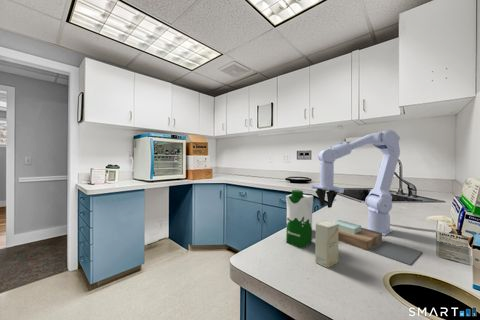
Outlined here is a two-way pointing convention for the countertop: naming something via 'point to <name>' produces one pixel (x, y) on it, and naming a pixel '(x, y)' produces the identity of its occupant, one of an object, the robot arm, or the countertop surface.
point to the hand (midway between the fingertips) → (326, 206)
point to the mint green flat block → (348, 226)
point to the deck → (360, 238)
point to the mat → (397, 252)
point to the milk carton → (299, 219)
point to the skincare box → (326, 243)
